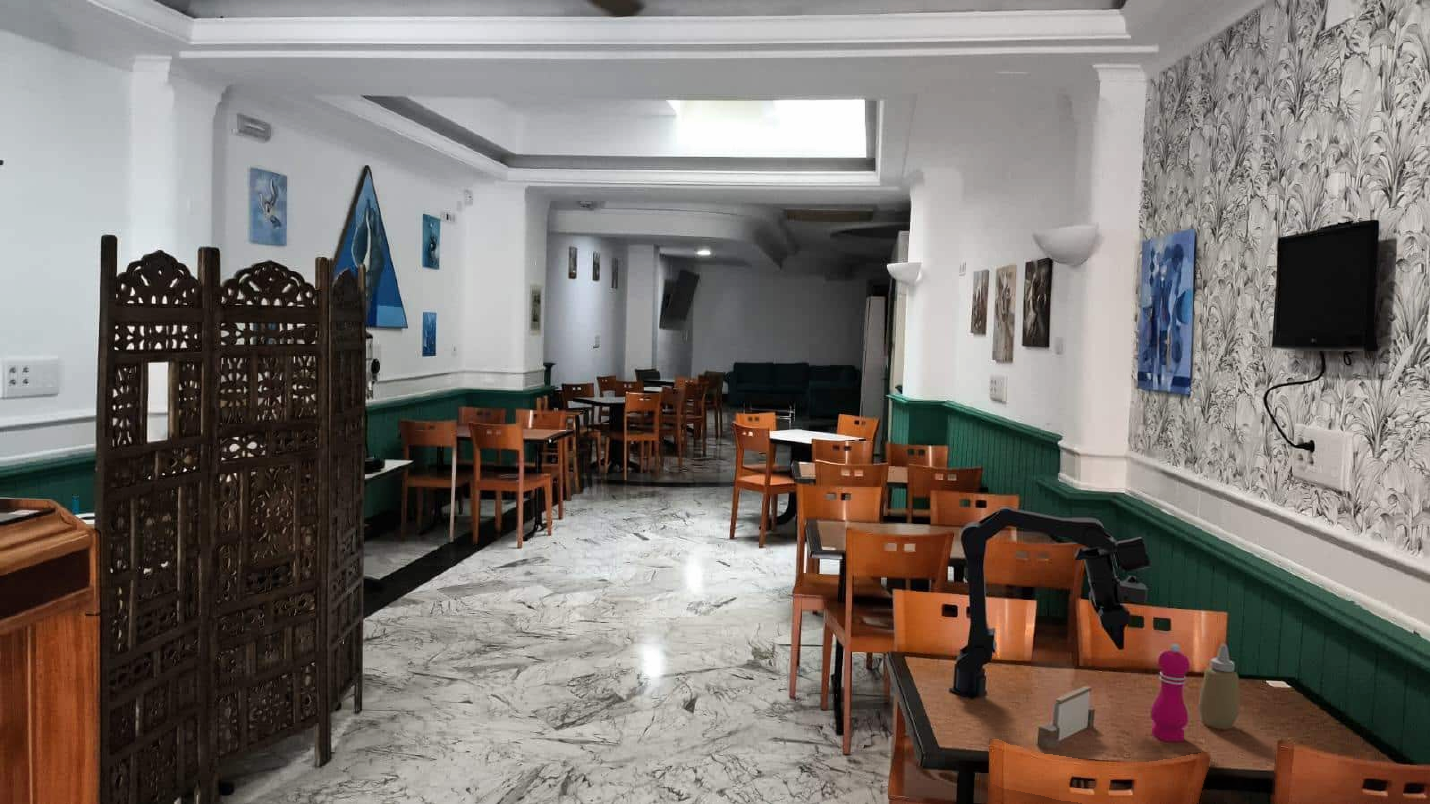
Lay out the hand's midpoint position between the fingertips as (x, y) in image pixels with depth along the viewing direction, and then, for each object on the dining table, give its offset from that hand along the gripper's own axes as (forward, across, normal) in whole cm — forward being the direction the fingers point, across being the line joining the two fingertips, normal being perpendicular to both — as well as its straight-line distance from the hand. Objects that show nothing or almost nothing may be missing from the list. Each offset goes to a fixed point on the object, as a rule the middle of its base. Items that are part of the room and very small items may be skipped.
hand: (1117, 642), depth 220 cm
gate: (+11, -17, +15) cm, 26 cm away
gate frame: (+11, -18, +16) cm, 26 cm away
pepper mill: (+18, -10, -4) cm, 21 cm away
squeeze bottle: (+22, 0, -16) cm, 28 cm away
